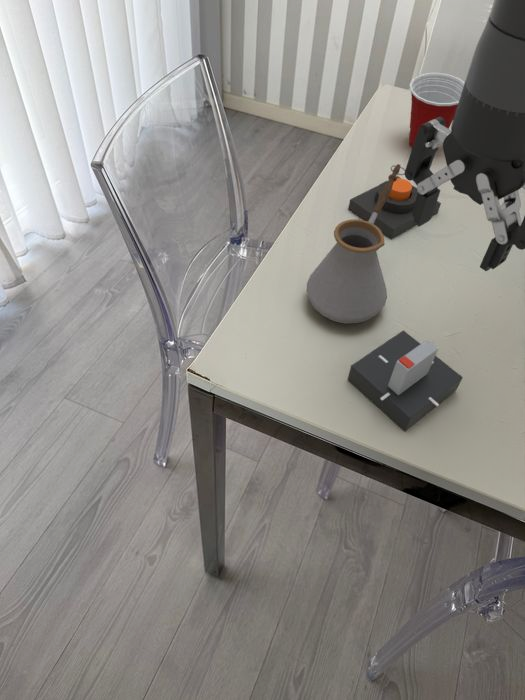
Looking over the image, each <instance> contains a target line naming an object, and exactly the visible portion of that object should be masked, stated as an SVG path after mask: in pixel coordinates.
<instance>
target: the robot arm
mask: <svg viewBox="0 0 525 700" xmlns="http://www.w3.org/2000/svg"><path fill="white" fill-rule="evenodd" d="M464 82H465V84H464V87H463V90H462V93H461V97H460V100H459V103H458V106H457V109H456V113H455V116H454V119H453V121H452V123H451V125H450V127H451V128H449V129H448V128H446V127H445V125H446V123H445V120H444V119H443V118H442V117H438V118H436V119H433V120H431V121H429V122H427V123H425V124H423V125H421V126H420V127H419V129H418V133H417V136H416V139H415V142H414V145H413V148H412V147H411V152H410V155H409V158H408V161H407V164H406V167H405V171H404V173H405V175H404V177H405V180H407V181H413V183H414V184H415V185H416V188H417V191H418V193H417V197H416V200H415V204H414V207H413V210H412V215H413V217H414V221H413V223H414V224H416V227H422V226H423V225H425V224H427V223H428V222H429V221H430V220H431V219H432V217H433V216H432V215H433V212H434V209H435V206H436V203H437V201H439V200H438V199H439V196H440V194H441V189H439V187H440V186H442V185H443V184H445V183H448V182H449V181H450V183H451V184H452V186H453V190H455V191H456V192H457V193H460V194H463V195H467V196H468V197H469V198H470V199H471V200H472V201H473V202H475V203H476V204H478V205H483V209H484V211H485V216H486V220H487V221H488V222H490V223H491V225H492V230H493V234H494V237H493V238H492V239H491V240H490V242H489V245H488V246H487V249H486V252H485V253H484V256H483V258H482V261H481V263H480V265H479V268H480V269H481V270H483V271H484V272H488V271H490V270H491V269H492V270H494V269H496V268H497V267H499V266H501V265H502V264H503V263H504V262H506V261H507V258H508V256H509V254H510V252H511V250H512V248H513V247H514V246H515V247H516V248H517V249H518V250H519V251H520V250H521V251H523V250H525V215H524V217H523V219H521V213H520V209H521V206H522V202H521V197H520V193H519V190H521V189H523V190H525V0H493V3H492V5H491V10H490V12H489V16H488V18H487V21H486V23H485V26H484V28H483V30H482V32H481V35H480V37H479V38H478V41H477V44H476V45H475V49H474V52H473V56H472V59H471V62H470V64H469V68H468V71H467V75H466V78H465V81H464ZM441 146H442V151H443V155H444V160H445V163H446V166H445V167H443V168H441V169H439V170H438V171H436V172H434V173H433V172H432V171H431V167H432V164H433V161H434V158H435V155H436V153H437V151H438V149H437V147H439V148H440V147H441ZM436 150H437V151H436ZM502 199H503V203H502V204H501V205H500V201H499V200H502Z"/></svg>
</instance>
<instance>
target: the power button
mask: <svg viewBox="0 0 525 700" xmlns="http://www.w3.org/2000/svg"><path fill="white" fill-rule="evenodd" d="M412 185H413V184H412V183H411V182H410V180H408V179H406V178H405V179H404V178H401V177H400V178H397V180H396V181H395V182H394V183H393V186H392V189H391V193H390V195H389V196H388V197H390V198H391V199H394V200H398V201H401V200H407V199H408V198H409V197H410V193H411V190H412Z"/></svg>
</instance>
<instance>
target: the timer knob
mask: <svg viewBox="0 0 525 700" xmlns="http://www.w3.org/2000/svg"><path fill="white" fill-rule="evenodd" d="M438 351H439V348H438V347H437V346H436V345H434V343H432V342H431V341H430V340H428V339H426V340H424V341H423V342H422V343H420V345H419V346H417V347H416V348H415V349H413V350H412V351H410V352H409V353H408V354H406V355H405V356H403V357H402V358H400V359H399V360H398V361H397V362H396V365H395V367H394V370H393V373H392V376H391V379H390V381H389V384H388V387H389V388H390V389H392V390H393V391H394V392H395V393H396V394H397V395H400V394H401V393H402V392H404V391H405V390H406V389H408V388H409V387H410V386H412V385H413V384H414V383H416V382H417V381H418V380H420V379H421V378H423V377H424V376H425V375H427V374H428V371H429V369H430V367H431V364H432V362H433V360H434V358H435V356H437V353H438Z"/></svg>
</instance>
